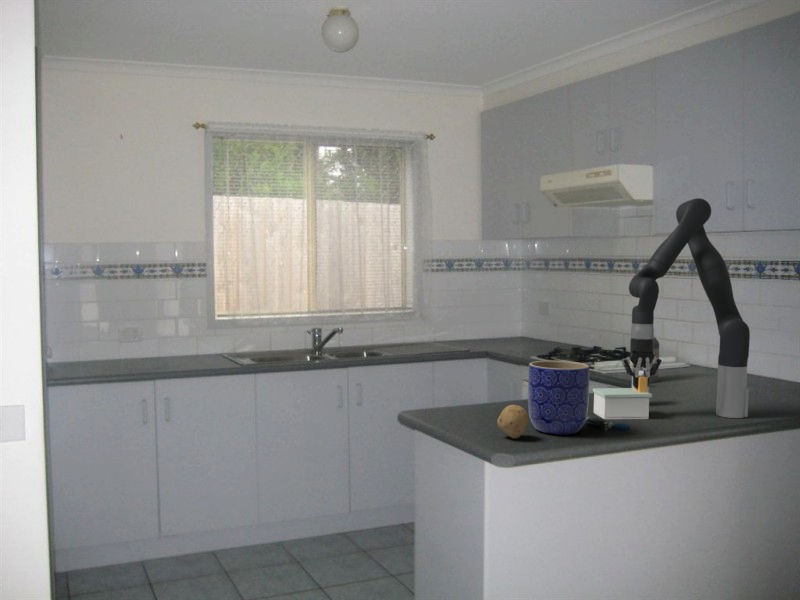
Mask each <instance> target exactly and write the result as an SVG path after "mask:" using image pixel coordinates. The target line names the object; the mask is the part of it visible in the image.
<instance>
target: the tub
mask: <svg viewBox="0 0 800 600" xmlns="http://www.w3.org/2000/svg"><path fill="white" fill-rule="evenodd" d="M593 394H594V395H593V414H595V415H596V416H598V417H600V418H602V419H603V420H649V417H650V416H649V415H650V414H649V413H650V397H649V398H648V397H645V398H604V397H602V396H601V395H599V394H597V393H595V392H593Z"/></svg>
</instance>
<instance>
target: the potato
mask: <svg viewBox="0 0 800 600" xmlns="http://www.w3.org/2000/svg"><path fill="white" fill-rule="evenodd" d="M496 422H497V426H498V428H499V429H500V430H501V431H503V432H504V433H506V435H508V437H509V438H512V439H518V438H520V437H521V436H522V435H523V434H524V432H525V431H526V429H527V427H528V423H529V413H528V412H527V411H526V409H525V408H524V407H522V406H520V405H518V404H510V405H507V406H506V407H504V408H503V410H502V411H501V412H500V415H499V416H498V418H497V421H496Z"/></svg>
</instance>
